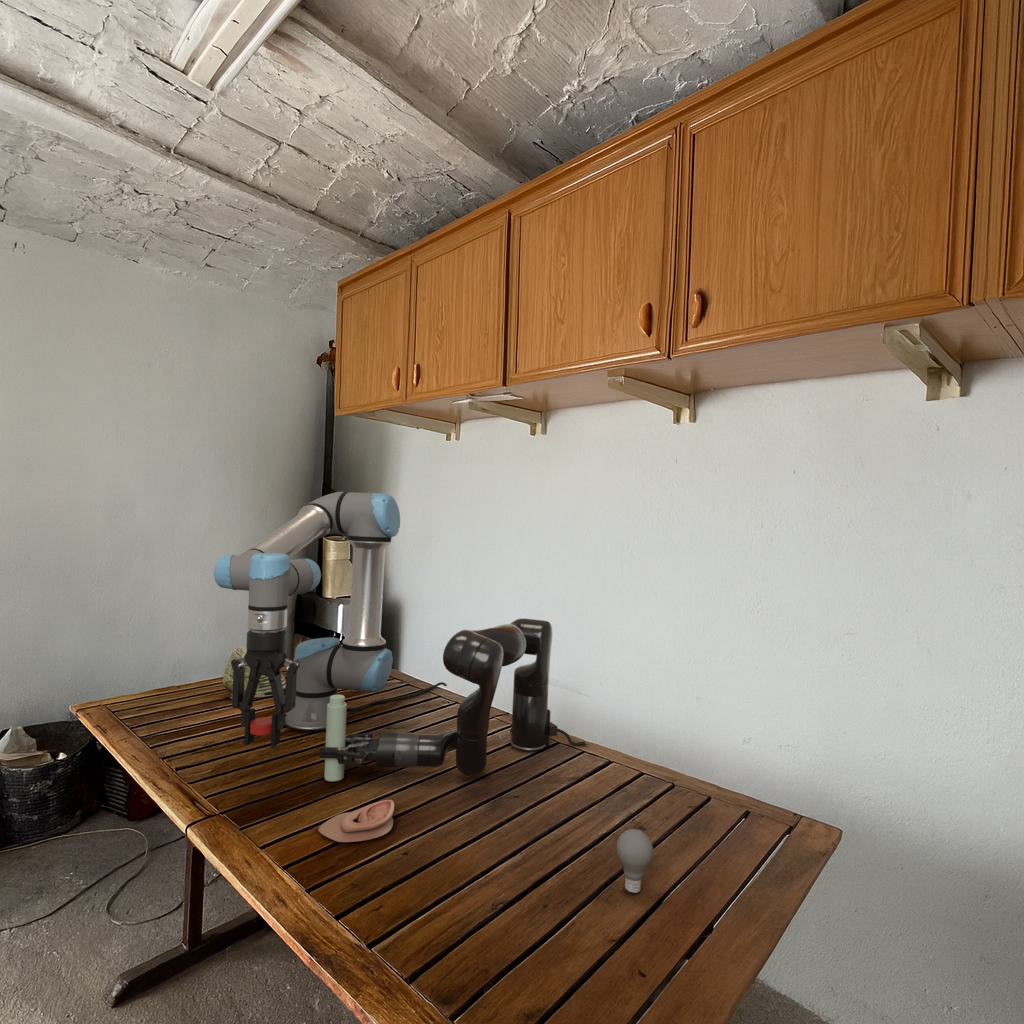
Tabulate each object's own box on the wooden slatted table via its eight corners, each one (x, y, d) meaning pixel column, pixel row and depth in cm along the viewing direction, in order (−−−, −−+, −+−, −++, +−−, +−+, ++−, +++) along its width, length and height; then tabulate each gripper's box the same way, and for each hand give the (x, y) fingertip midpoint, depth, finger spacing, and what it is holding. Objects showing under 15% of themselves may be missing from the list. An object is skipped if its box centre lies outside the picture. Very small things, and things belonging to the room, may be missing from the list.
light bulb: (610, 879, 108) (613, 822, 108) (644, 879, 109) (647, 822, 109) (619, 902, 102) (622, 840, 102) (655, 901, 103) (658, 840, 103)
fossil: (218, 695, 195) (220, 647, 195) (278, 685, 208) (279, 640, 207) (228, 703, 189) (230, 653, 188) (289, 692, 201) (290, 645, 201)
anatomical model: (310, 816, 117) (339, 789, 129) (309, 837, 117) (338, 808, 129) (377, 827, 115) (401, 798, 126) (376, 848, 115) (400, 818, 126)
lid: (250, 727, 130) (251, 718, 130) (275, 726, 132) (276, 716, 132) (249, 736, 126) (249, 726, 126) (275, 734, 127) (275, 724, 127)
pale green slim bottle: (345, 779, 142) (349, 698, 142) (326, 782, 140) (329, 700, 140) (341, 771, 146) (344, 693, 146) (322, 774, 144) (325, 694, 144)
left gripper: (214, 630, 125) (209, 747, 126) (302, 635, 124) (297, 753, 125) (233, 623, 133) (229, 734, 133) (316, 628, 132) (312, 739, 132)
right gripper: (403, 722, 151) (330, 720, 150) (395, 745, 137) (315, 743, 136) (402, 753, 151) (329, 751, 150) (394, 780, 137) (313, 778, 136)
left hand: (262, 743), depth 129 cm, fingers closed on lid, 5 cm apart
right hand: (323, 748), depth 143 cm, fingers closed on pale green slim bottle, 4 cm apart
